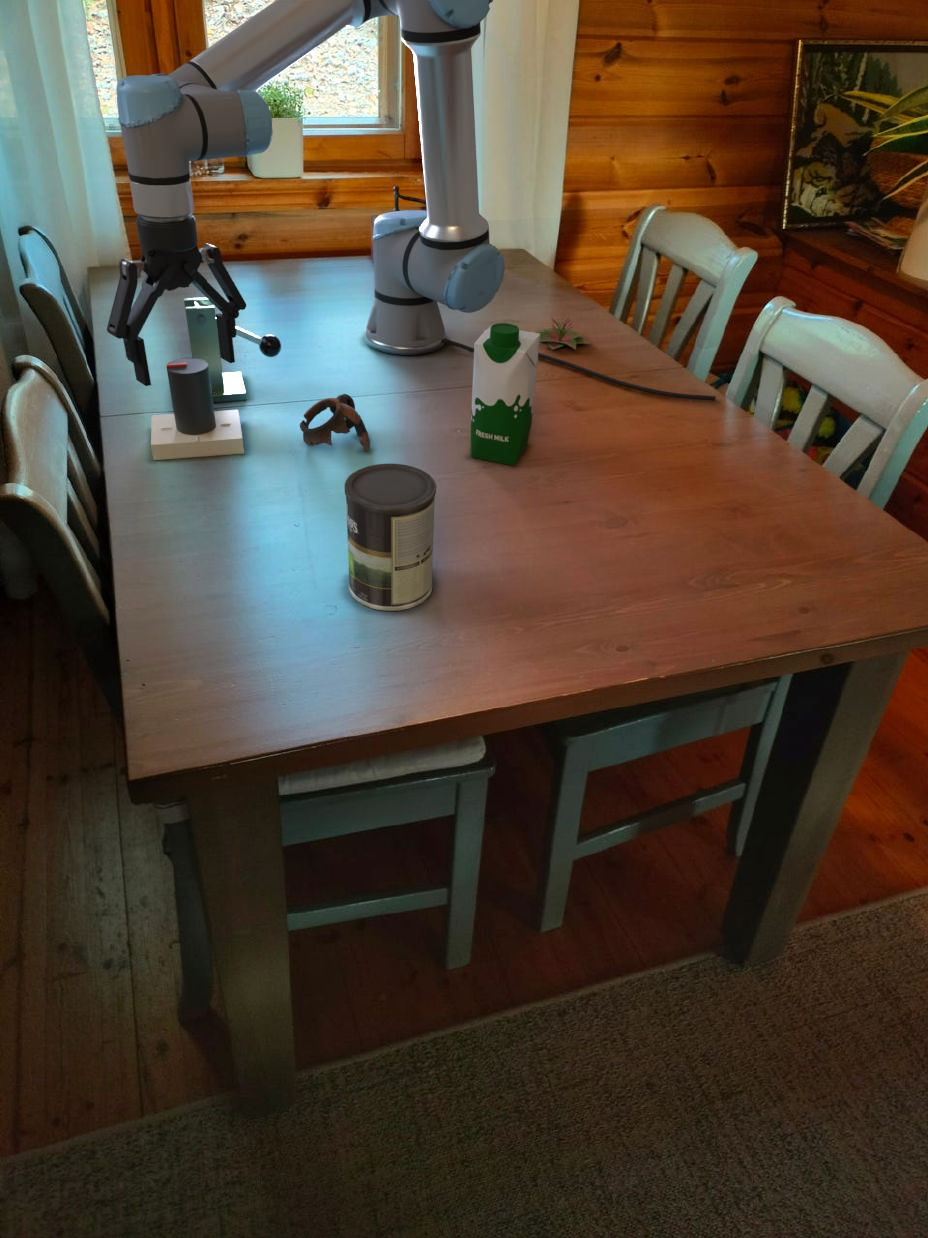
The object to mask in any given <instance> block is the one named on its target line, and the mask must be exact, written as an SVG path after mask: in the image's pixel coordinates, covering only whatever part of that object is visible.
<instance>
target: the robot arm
mask: <svg viewBox="0 0 928 1238" xmlns="http://www.w3.org/2000/svg"><path fill="white" fill-rule="evenodd" d="M493 2H494V0H274V1H273V2H271V3H270V4H268V5H267V6H266V7H264V8H263V9H261V10H260V11H259V12H257V13H255V14H254V15H253V16H251V17H249V18H248V19H247V20H246V21H245V22H243V23H242V24H240V25H239V26H237V27H235V28H234V29H233V30H231V31H229V33H227V34H226V35H225V36H223V37H221V38H220V39H218V40H217V41H215V43H213V44H211V45H210V46H209V47H207V48H206V49H204V50H203V51H202V52H200V53H199V54H197V55H196V56H195V57H193V58H192V59H190V60H189V61H187V62H185V63H184V64H182V65H180V66H179V67H178V68H176V69H175V70H174V71H172V72H171V73H167V72H165V73H162V72H161V73H153V74H150V75H146V74H145V75H144V74H138V75H127V76H124V77H122V78H121V79H119V80H118V82H117V84H116V89H115V92H116V106H117V114H118V119H117V120H118V124H119V125H120V131H121V137H122V143H123V147H124V153H125V159H126V165H127V166H126V167H127V170H128V171H127V172H128V177H129V178H128V180H129V186H130V187H129V188H130V190H131V191H130V193H131V200H132V204H133V205H132V206H133V211H134V212H135V213H136V214H137V216H136V218H135V225H136V231H137V238H138V245H139V246H140V251H141V256H140V259H139V260H138V259H137V260H128V259H126V258H120V259H119V262H118V267H119V278H118V279H119V280H118V283H117V288H116V292H115V295H114V298H113V303H112V307H111V310H110V315H109V318H108V323H107V326H106V331H107V333H108V334H110V335H111V336H113V337H115V338H117V339H119V340H121V339H122V341H123V347H124V350H125V351H124V352H125V357H126V359H127V360H128V361H130V362H131V363H133V368H134V374H135V381H137V382H138V383H140V384H142V385H143V386H145V387H149V386H152V381H151V375H150V371H149V370H150V369H149V364H148V357H147V353H146V352H147V351H146V345H145V341H144V338H142V337H140V333H141V331H142V330H143V327H144V325H145V324H146V322H147V320H148V318H149V315H151V312H152V311H153V309H154V306H155V305H156V302H158V301H157V300H158V299H159V298H160V297H162V296H163V294H164V292H165V290H166V291H168V292H170V291H171V292H172V291H174V290H177V289H179V288H183V289H185V288H189V287H190V285H191V284H192V285H193V286H194V287H195V288H196V289H197V291H199V292H200V293H201V294H202V295H203V296H204V297H207V298H208V299H209V300H210V301H211V302H212V303H213V306H214V307H216V308H217V310H218V311H220V312H221V313H220V312H219V313H215V316H216V323H217V332H218V341H219V349H220V358H221V360H224V361H226V362H227V363H229V364H233V363H236V359H235V350H234V340H233V339H234V338H236V337H237V335H236V326H237V324H236V319H238V318H239V316H240V311H244V310H246V308H247V303H246V301H245V299H244V297H243V296H242V294H241V292H240V290H239V289H238V286H237V285H236V283H235V282H234V280H233V278H232V276H231V274H230V273H229V271H228V270H227V267H226V266H225V264H224V263H223V257H222V253H221V249H220V248H219V247H217V246H215V245H213V244H210V243H207V242H206V243H204V244H203V246H202V247H201V248H198V244H199V237H198V227H197V221H196V217H195V216H194V215H193V213H194V211H195V202H194V195H193V188H192V180H191V171H190V168H191V167H190V162H199V161H205V160H206V161H207V160H216V159H217V160H218V159H228V158H239V157H243V158H248V156H252V155H257V154H263V153H264V152H266V151H267V150H268V149H269V147H270V145H271V142H272V139H273V134H274V133H273V132H274V131H273V118H272V114H271V111H270V108H269V106H268V103H267V102H266V100H265V98H264V97H263V96H262V95H261V94H260V93H259V92H258V90H260V88H262V87H264V86H265V85H266V84H267V83H269V82H271V80H273V79H274V78H276V77H278V76H279V75H280V74H282V73H283V72H284V71H286V70H287V69H289V67H291V66H293V65H294V64H295V63H297V62H299V61H300V60H301V59H303V58H304V57H305V56H306V55H308V54H309V53H311V52H312V51H313V50H316V48H318V47H319V46H320V45H322V44H323V43H325V42H327V41H328V40H329V39H330V38H332V37H333V36H334V35H336V34H337V33H338V32H340V31H342V30H343V29H344V28H345V27H347V28H350V29H357V28H360V26H362V25H363V24H365V23H366V22H368V21H370V20H372V19H376V18H379V17H386V16H395V17H398V18H399V25H400V37H401V41H402V43H404V45H405V46H407V47H408V48H409V50H411V52H412V54H413V65H414V66H413V67H414V77H415V89H416V99H417V100H416V101H417V112H418V121H419V122H418V123H419V135H420V144H421V145H420V148H421V156H422V157H421V159H422V169H423V180H424V193H425V201H426V205H425V206H426V209H424V210H423V209H410V210H409V209H407V210H400V211H396V212H390V211H389V212H390V213H388V212H386V213H385V212H384V213H383V214H379V215H380V216H379V217H378V218H377V219H376V220H375V222H374V233H373V238H372V240H373V255H374V261H373V285H374V287H373V290H374V293H373V295H374V298H373V304H372V306H371V310H370V312H369V316H368V320H367V323H366V327H365V330H364V331H365V332H364V333H365V343H366V344H367V345H368V346H369V347H370V348H372V349H374V350H376V351H379V352H382V353H385V354H391V355H397V356H398V355H399V356H417V355H424V354H430V353H433V352H437V351H438V350H440V349H441V348H442V347H444V345H445V344H446V345H451V346H453V347H457V348H460V349H463V350H466V351H468V352H470V353H474V347H471V346H468V345H466V344H463V343H461V342H457V341H454V340H451V339H448V338H446V333H447V332H446V329H445V325H444V321H443V318H442V314H441V310H440V307H439V303H440V304H441V305H444V306H446V308H448V309H450V310H452V311H459V312H462V313H466V314H470V313H471V314H472V313H475V312H478V311H480V310H482V309H483V308H485V307H486V306H488V305H489V304H490V303H491V302H492V301H493V300H494V298H495V296H496V294H497V293H498V292H499V290H500V288H501V285H502V283H503V279H504V276H505V269H506V268H505V259H504V256H503V254H502V252H501V251H499V249H498V247H497V246H495V245H493V243H490V242H491V241H490V225H489V221H488V220H487V219H486V218H485V217H484V216H482V215H481V214H480V204H479V203H480V202H479V201H480V200H479V185H478V184H479V182H478V161H477V160H478V159H477V143H476V122H475V121H476V119H475V118H476V117H475V99H474V78H473V77H474V76H473V59H472V57H473V56H472V48H473V46H474V44H475V43H476V42H477V40H478V39H479V38H480V36H481V34H482V32H481V30H482V29H481V23H482V21H483V20H485V18H486V17H487V16H488V14H489V12H490V10H491V6H490V4H491V3H493ZM202 262H203V263H205V264H206V265H207V267H208V268H209V270H210V272H211V273H212V275H213V277H214V278H215V280H216V282H217V284H218V285H219V287H220V289H221V290H222V292H223V294H224V295H225V297H226V299H227V300H226V299H225V298H224V296H222V295H221V294H220V293H219V292H218V290H216V288H215V287H213V286H212V284H210V283H209V281H208V279H206V278H205V276H204V275H203V274H201V273H200V272H199V268H200V266H201V263H202ZM142 271H143V272H144V273H145V274H146V275H145V277H144V279H143V281H142V282H141V289H140V291H139V293H138V295H137V297H136V299H135V295H136V291H137V287H138V282H139V280H138V279H140V278H141V277H142ZM154 284H155V285H154ZM134 299H135V301H134ZM538 358H540V359H544V360H547V361H550V362H553V363H556V364H560V365H563V366H565V367H569V368H571V369H574V370H576V371H579V372H582V373H584V374H587V375H589V376H593V377H595V378H598V379H601V380H604V381H607V382H610V383H613V384H616V385H618V386H622V387H625V388H629V389H633V390H637V391H640V392H645V393H649V394H654V395H659V396H664V397H670V398H678V399H685V400H686V399H687V400H698V401H699V400H700V401H713V402H714V401H715V402H716V400H717V399H716V398H717V396H716V395H705V394H704V395H703V394H691V393H681V392H672V391H666V390H660V389H654V388H650V387H646V386H641V385H638V384H634V383H630V382H627V381H623V380H619V379H616V378H615V377H611V376H608V375H605V374H603V373H600V372H597V371H594V370H591V369H589V368H585V367H583V366H580V365H577V364H575V363H572V362H569V361H567V360H563V359H560V358H557V357H555V356H550V355H548V354H544V353H541V352H538Z"/></svg>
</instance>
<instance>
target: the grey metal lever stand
mask: <svg viewBox="0 0 928 1238" xmlns="http://www.w3.org/2000/svg"><path fill="white" fill-rule="evenodd" d="M194 302H197V303H199V304H201V305H203V306H196V307H192V306H193V304H194ZM183 304H184V309H185V310H184V311H185V317H186V323H187V332H188V336H189V337H188V338H189V345H190V352H191V358H198V359H202V360H204V361H206V362H207V363H208V367H209V375H210V382H211V390H212V397H213V403H223V402H224V403H225V402H235V401H236V402H237V401H247V399H248V398H247V397H248V396H247V391H246V387H245V383H244V379H243V375H242V372H241V371H233V372H223V366H222V358H220V349H219V340H218V332H217V324H216V309H215V305H214V304H213V303H212V302H211V301H210V300H209V299H208V298H207V297H206V296H204V297H187V298H186V297H185V298H183Z"/></svg>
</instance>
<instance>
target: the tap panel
mask: <svg viewBox="0 0 928 1238" xmlns="http://www.w3.org/2000/svg"><path fill="white" fill-rule="evenodd" d="M214 412H215V420H216V427H215V428H214V429H213V430H212V431H210V432H208V433H204V434H199V435H188V434H184V433H181V432H179V431H178V430H177V429H176V423H175V417H174V413H166V414H165V413H164V414H152V415H151V424H150V425H151V427H150V434H151V435H150V448H151V454H152V458H153V461H162V460H176V459H177V460H178V459H189V458H190V459H191V458H201V457H217V456H227V455H242V454H245V448H244V446H245V445H244V438H243V432H242V424H241V417H240V410H239V409H227V410H214Z"/></svg>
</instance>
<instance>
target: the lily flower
mask: <svg viewBox="0 0 928 1238" xmlns="http://www.w3.org/2000/svg"><path fill="white" fill-rule="evenodd" d="M555 317H556V318H558V316H557V315H555ZM550 319H551V321H552V322H553V323H554V324H556V326H557V327H556V326H555V325H554V324H551V327H549V328H543V331H535V332H534V333H539V334H540V340H539V343H542V342H546V344H547V346H548V347H549V348H550V349H551V350H552V351H553V350H555V349H559V348H561V347H564V346H568V347H570V348H572V349H573V350H575V351H576V348H577V345H579V344H592V343H591V342H590V341H588V340H587V339H586V338H583V337H581V336H584V334H583V333H580V332H578V331H576V330H571V329H573V326H571V325H572V323H570V322H571V320H570V317H568V318H566V321H562V323H560V320H559V319H557V320H558V322H557V321H556V320H555V319H554V318H553V317H550ZM564 319H565V317H563V318H562V320H564ZM568 323H569V324H568ZM567 325H568V326H567ZM566 326H567V327H566Z"/></svg>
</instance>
